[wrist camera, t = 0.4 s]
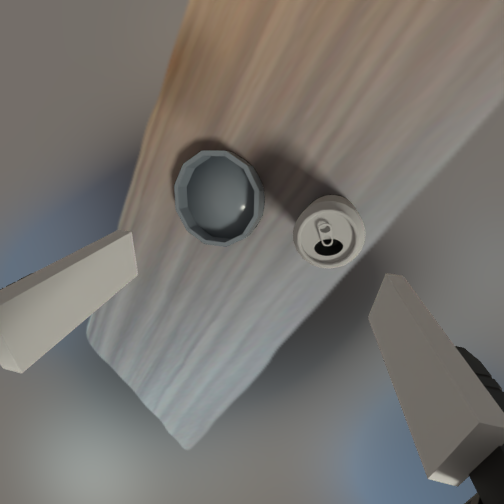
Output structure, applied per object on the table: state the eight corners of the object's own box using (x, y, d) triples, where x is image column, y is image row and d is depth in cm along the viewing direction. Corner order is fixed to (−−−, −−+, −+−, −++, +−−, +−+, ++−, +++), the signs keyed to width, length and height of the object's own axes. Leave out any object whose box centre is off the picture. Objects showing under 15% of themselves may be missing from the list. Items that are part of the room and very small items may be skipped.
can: (308, 247, 37) (296, 276, 26) (300, 200, 36) (284, 210, 25) (360, 241, 34) (371, 270, 24) (354, 189, 33) (363, 195, 22)
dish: (207, 134, 37) (196, 130, 34) (282, 185, 36) (277, 186, 33) (174, 210, 43) (162, 212, 41) (236, 257, 42) (229, 262, 39)
